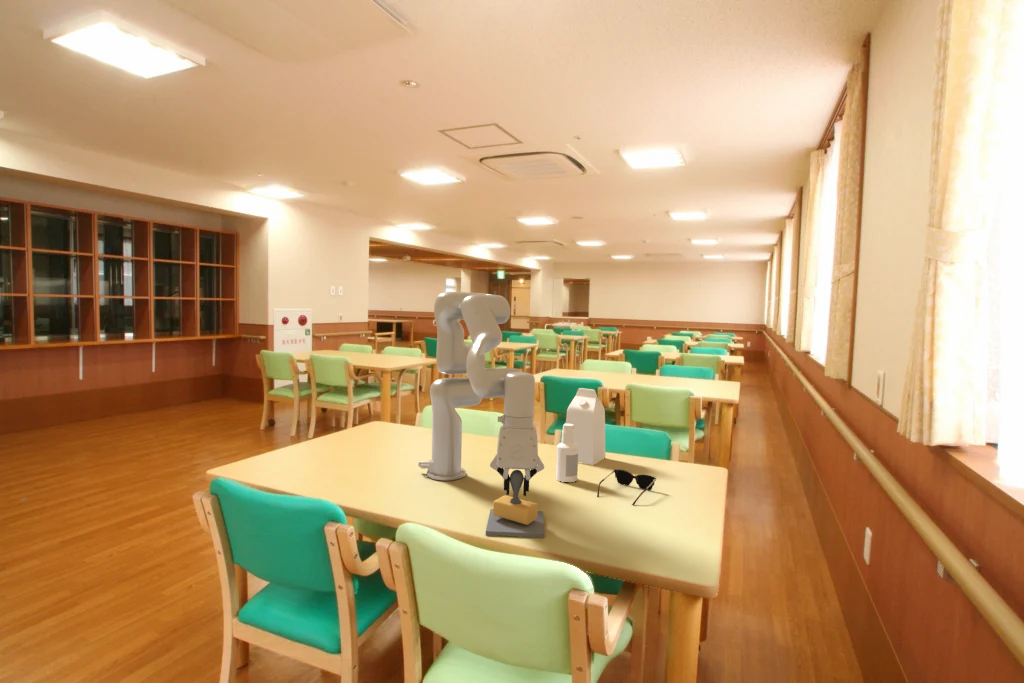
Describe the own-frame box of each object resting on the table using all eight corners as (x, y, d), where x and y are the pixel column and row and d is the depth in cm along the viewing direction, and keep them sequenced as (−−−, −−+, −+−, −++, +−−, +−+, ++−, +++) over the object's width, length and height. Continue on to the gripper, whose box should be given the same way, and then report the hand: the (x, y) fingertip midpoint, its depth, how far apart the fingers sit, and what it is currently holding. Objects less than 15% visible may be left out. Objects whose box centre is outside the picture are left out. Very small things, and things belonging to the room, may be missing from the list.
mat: (485, 535, 125) (485, 531, 125) (490, 512, 139) (490, 509, 139) (543, 537, 125) (544, 533, 125) (543, 514, 139) (543, 511, 139)
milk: (605, 458, 195) (608, 388, 193) (592, 465, 185) (595, 392, 183) (576, 452, 201) (578, 385, 199) (562, 459, 191) (564, 389, 190)
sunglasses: (656, 492, 160) (656, 476, 159) (637, 511, 146) (637, 494, 146) (613, 483, 167) (614, 468, 167) (592, 500, 154) (592, 484, 154)
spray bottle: (576, 484, 164) (578, 427, 163) (554, 482, 166) (556, 426, 165) (578, 477, 171) (579, 423, 170) (557, 475, 172) (558, 421, 171)
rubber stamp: (492, 515, 132) (494, 468, 131) (503, 508, 137) (506, 463, 136) (526, 525, 127) (529, 477, 126) (537, 517, 132) (540, 471, 131)
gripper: (483, 423, 127) (481, 497, 128) (552, 426, 126) (549, 500, 128) (486, 417, 135) (484, 487, 136) (551, 419, 134) (548, 490, 135)
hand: (516, 493), depth 132 cm, fingers open, 3 cm apart
